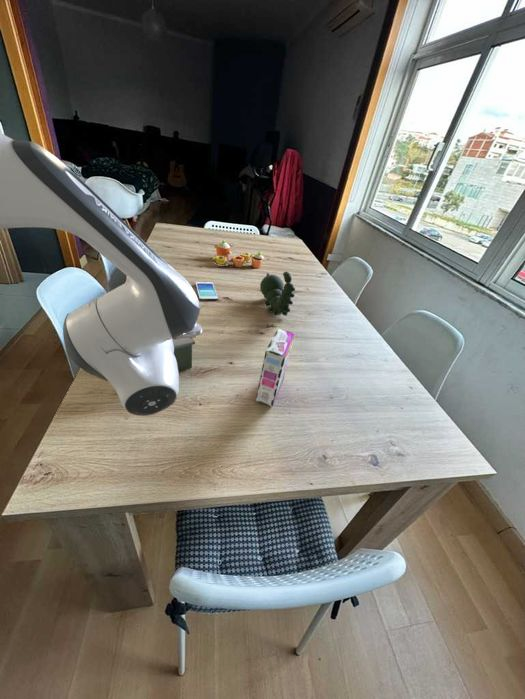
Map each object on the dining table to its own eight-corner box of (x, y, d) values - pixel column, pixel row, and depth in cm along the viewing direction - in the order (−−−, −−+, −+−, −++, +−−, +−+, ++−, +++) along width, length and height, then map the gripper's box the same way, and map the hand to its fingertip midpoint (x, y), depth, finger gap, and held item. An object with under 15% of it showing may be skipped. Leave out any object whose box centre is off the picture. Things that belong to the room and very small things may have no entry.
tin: (175, 341, 90) (174, 319, 86) (192, 367, 82) (192, 344, 77) (120, 353, 83) (116, 330, 78) (133, 383, 74) (129, 359, 69)
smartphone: (199, 298, 113) (195, 281, 124) (199, 300, 113) (195, 283, 124) (218, 298, 115) (212, 282, 126) (218, 300, 115) (212, 283, 127)
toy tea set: (212, 267, 142) (213, 247, 136) (211, 255, 154) (211, 237, 148) (264, 270, 148) (267, 251, 142) (259, 259, 160) (261, 241, 154)
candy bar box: (273, 407, 74) (285, 357, 64) (255, 401, 75) (264, 350, 65) (284, 380, 83) (296, 332, 73) (267, 375, 84) (277, 327, 74)
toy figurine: (293, 325, 111) (274, 290, 129) (305, 281, 99) (283, 249, 116) (269, 326, 109) (253, 290, 126) (279, 280, 96) (260, 248, 114)
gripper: (204, 322, 55) (192, 289, 65) (79, 330, 48) (88, 292, 58) (203, 348, 59) (192, 314, 69) (87, 360, 52) (94, 319, 62)
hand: (144, 304), depth 63 cm, fingers closed on beverage can, 5 cm apart
